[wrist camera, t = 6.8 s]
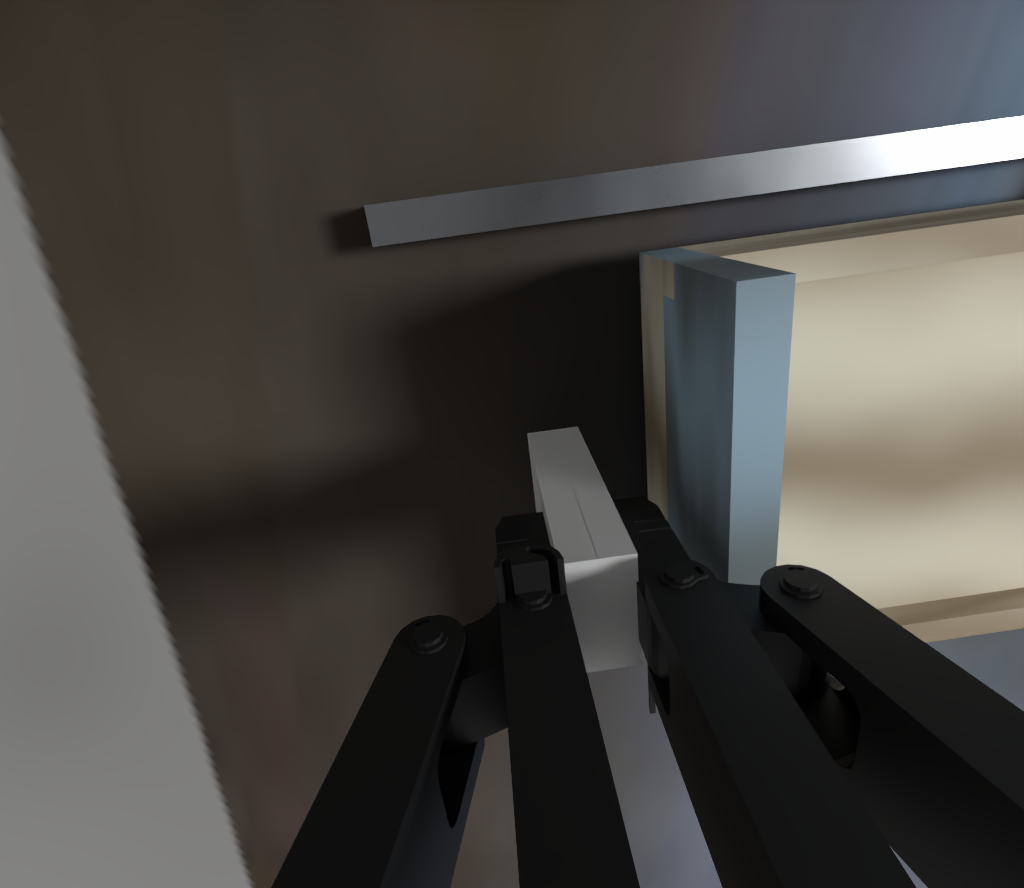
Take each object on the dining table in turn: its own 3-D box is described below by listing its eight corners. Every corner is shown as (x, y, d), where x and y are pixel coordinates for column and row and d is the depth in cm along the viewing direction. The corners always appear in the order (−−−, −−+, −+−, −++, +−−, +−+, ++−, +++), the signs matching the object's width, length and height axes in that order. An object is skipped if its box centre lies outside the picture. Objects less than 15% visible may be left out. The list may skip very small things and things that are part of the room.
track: (371, 205, 16) (364, 205, 14) (1481, 54, 16) (1557, 43, 15) (464, 658, 22) (463, 683, 21) (1260, 541, 22) (1301, 559, 21)
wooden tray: (625, 248, 16) (736, 281, 10) (1277, 158, 17) (1836, 129, 10) (641, 591, 21) (723, 777, 14) (1148, 517, 21) (1466, 665, 15)
